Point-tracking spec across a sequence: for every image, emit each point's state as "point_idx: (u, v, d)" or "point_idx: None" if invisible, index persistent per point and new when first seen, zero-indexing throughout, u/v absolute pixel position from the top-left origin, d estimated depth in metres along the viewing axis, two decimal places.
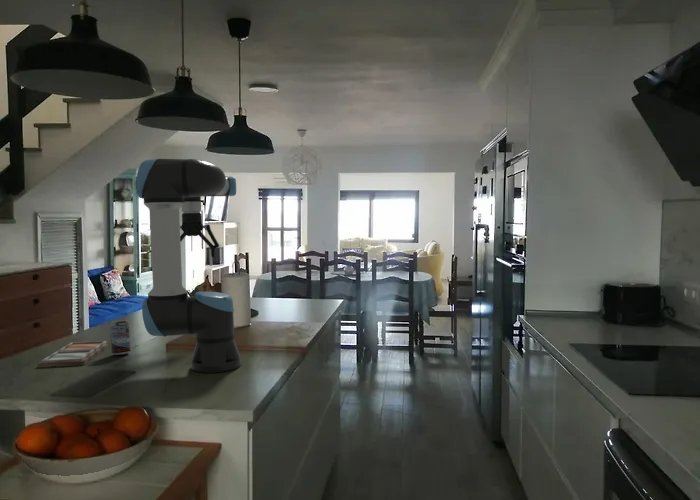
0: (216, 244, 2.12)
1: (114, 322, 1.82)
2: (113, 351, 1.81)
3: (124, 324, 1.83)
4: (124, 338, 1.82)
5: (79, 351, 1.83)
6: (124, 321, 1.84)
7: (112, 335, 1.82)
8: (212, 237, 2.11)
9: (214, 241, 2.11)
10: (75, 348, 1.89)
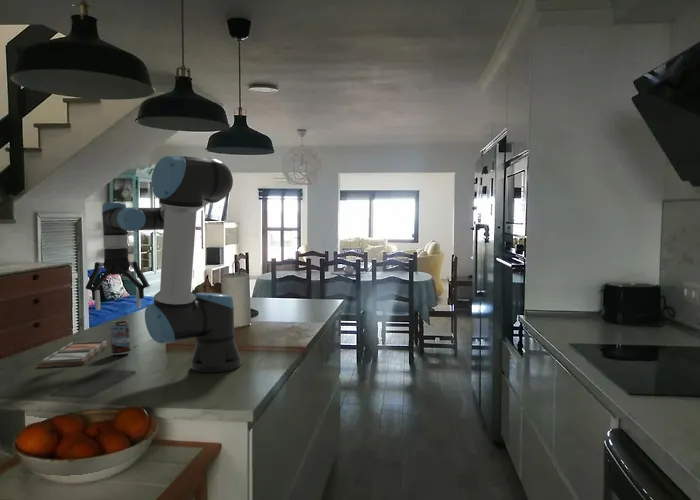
0: (145, 284, 1.83)
1: (114, 322, 1.82)
2: (113, 351, 1.81)
3: (124, 324, 1.83)
4: (124, 338, 1.82)
5: (79, 351, 1.83)
6: (124, 321, 1.84)
7: (112, 335, 1.82)
8: (140, 276, 1.83)
9: (142, 280, 1.83)
10: (75, 348, 1.89)
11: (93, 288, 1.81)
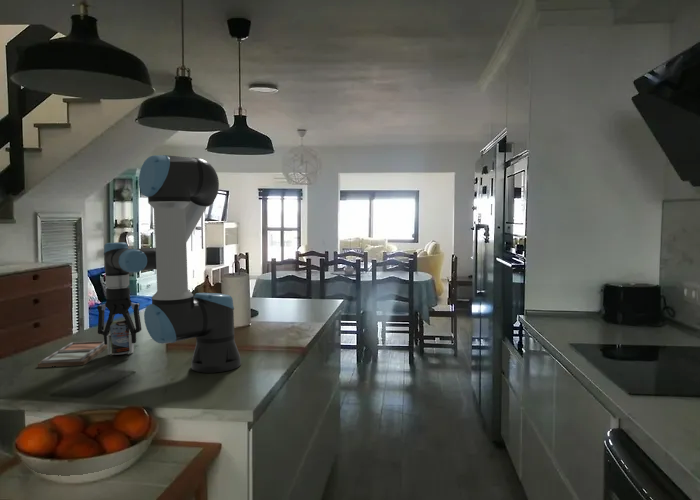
0: (138, 328, 1.84)
1: (114, 322, 1.82)
2: (113, 351, 1.81)
3: (124, 324, 1.83)
4: (124, 338, 1.82)
5: (79, 351, 1.83)
6: (124, 321, 1.84)
7: (112, 335, 1.82)
8: (136, 319, 1.83)
9: (137, 324, 1.84)
10: (75, 348, 1.89)
11: (105, 332, 1.82)
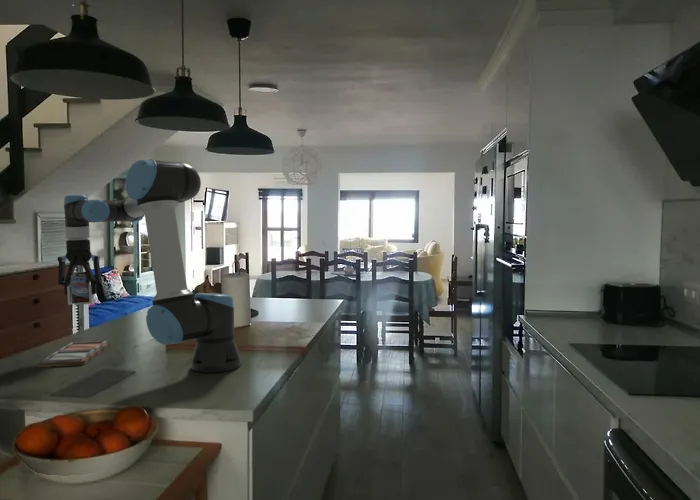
0: (97, 280, 1.88)
1: (74, 273, 1.87)
2: (73, 301, 1.86)
3: (84, 275, 1.88)
4: (84, 288, 1.87)
5: (79, 351, 1.83)
6: (84, 272, 1.88)
7: (72, 285, 1.86)
8: (96, 271, 1.88)
9: (96, 276, 1.88)
10: (75, 348, 1.89)
11: (65, 283, 1.87)
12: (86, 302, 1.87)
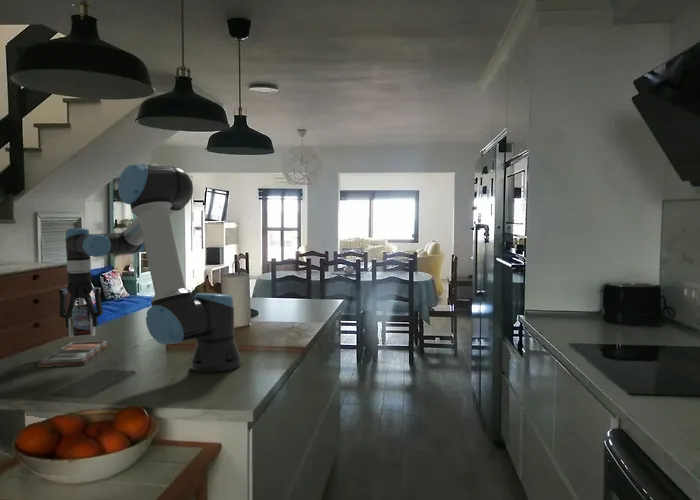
0: (98, 312, 1.89)
1: (75, 306, 1.88)
2: (74, 334, 1.87)
3: (85, 308, 1.88)
4: (86, 321, 1.88)
5: (79, 351, 1.83)
6: (85, 305, 1.89)
7: (73, 318, 1.87)
8: (97, 303, 1.89)
9: (98, 308, 1.89)
10: (75, 348, 1.89)
11: (66, 316, 1.88)
12: (87, 334, 1.88)
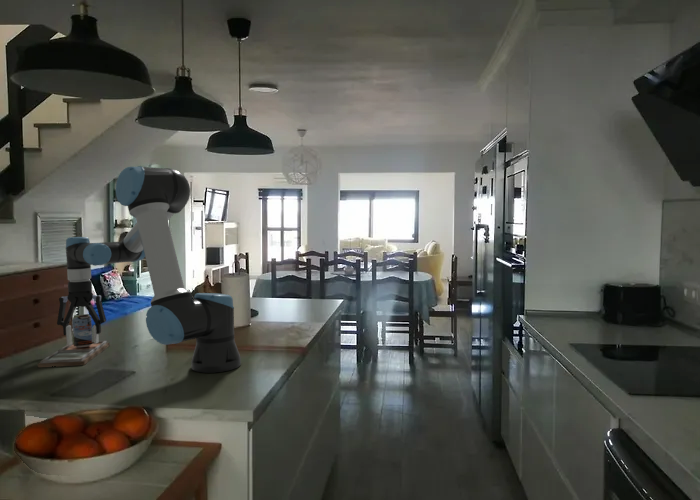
0: (102, 319, 1.89)
1: (76, 316, 1.88)
2: (75, 344, 1.87)
3: (86, 318, 1.88)
4: (86, 331, 1.88)
5: (79, 351, 1.83)
6: (86, 315, 1.89)
7: (74, 328, 1.87)
8: (99, 311, 1.89)
9: (100, 316, 1.89)
10: (75, 348, 1.89)
11: (64, 323, 1.88)
12: (88, 344, 1.88)
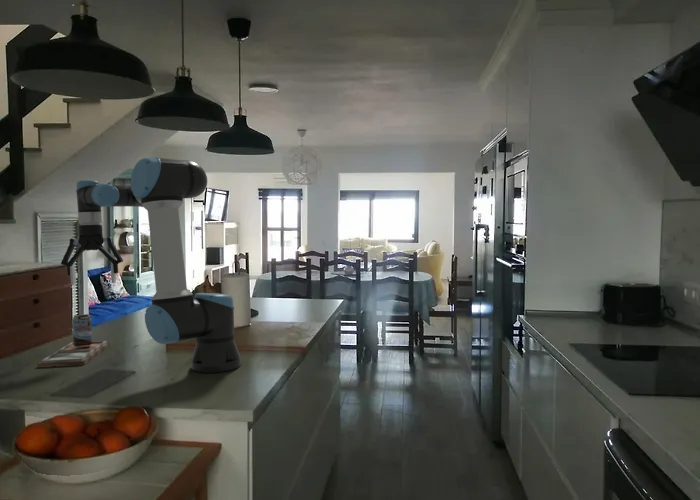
0: (119, 259, 1.90)
1: (76, 316, 1.88)
2: (75, 344, 1.87)
3: (86, 318, 1.88)
4: (86, 331, 1.88)
5: (79, 351, 1.83)
6: (86, 315, 1.89)
7: (74, 328, 1.87)
8: (114, 251, 1.90)
9: (116, 256, 1.90)
10: (75, 348, 1.89)
11: (68, 263, 1.88)
12: (88, 345, 1.88)
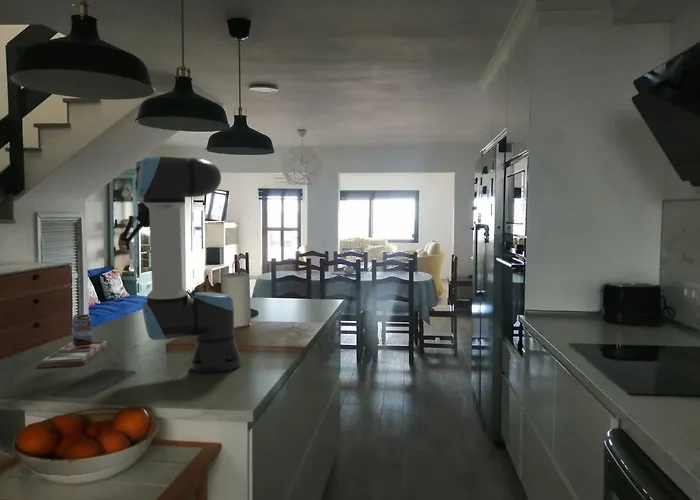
0: None
1: (76, 316, 1.88)
2: (75, 344, 1.87)
3: (86, 318, 1.88)
4: (86, 331, 1.88)
5: (79, 351, 1.83)
6: (86, 315, 1.89)
7: (74, 328, 1.87)
8: None
9: None
10: (75, 348, 1.89)
11: (127, 239, 1.99)
12: (88, 345, 1.88)
